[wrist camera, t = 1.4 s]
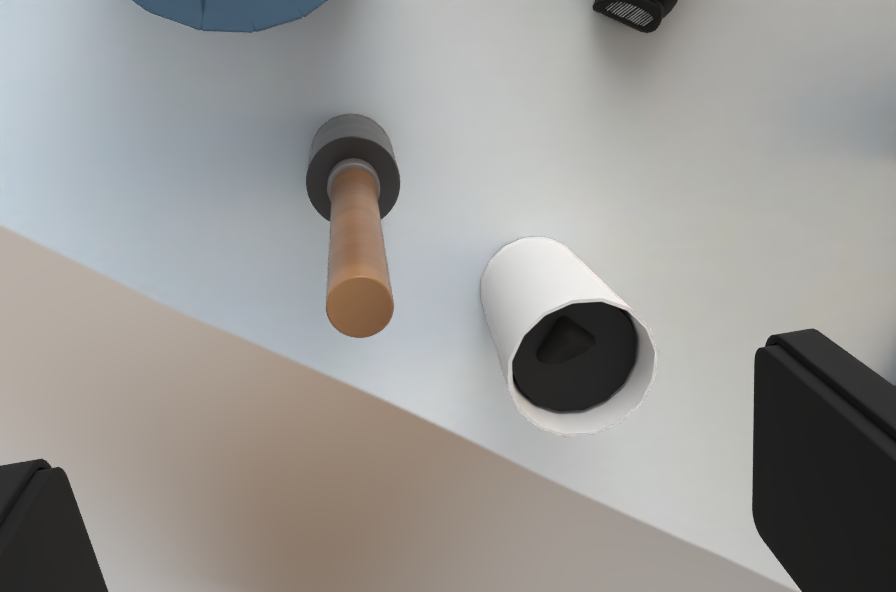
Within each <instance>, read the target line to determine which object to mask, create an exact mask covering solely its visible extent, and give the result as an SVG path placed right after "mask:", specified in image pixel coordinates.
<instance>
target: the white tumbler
mask: <svg viewBox="0 0 896 592" xmlns="http://www.w3.org/2000/svg"><path fill="white" fill-rule="evenodd" d="M481 302H482V305H483V308H484V311H485V315H486V318H487V321H488V324H489V328H490V331H491V334H492V338H493V341H494V344H495V347H496V351H497V354H498V357H499V361H500V364H501V367H502V370H503V374H504V377H505V380H506V384H507V387H508V389H509V392H510V394H511V396H512V398H513V401H514V403H515V405H516V407H517V409H518V412H519V413H520V414H522V415H523V416H524V417H525V418H526V419H527V420H529V421H530V422H531V423H532V424H533V425H535V426H536V427H537V428H538V429H540V430H544V431H547V432H550V433H554V434H557V435H560V436H564V437H571V436H585V435H594V434H597V433H599V432H601V431H604V430H606V429H608V428H611V427H613V426H615V425H618V424H620V423H621V422H623V421H624V420H625V419H626V418H627V417H628V416H629V415H630V414H631V413H632V412H634V411H635V410H636V409H637V408H638V407H639V406H640V405H641V404H642V403H643V401H644V400H645V398H646V396H647V394H648V392H649V390H650V388H651V386H652V384H653V383H654V381H655V379H656V370H657V359H658V349H657V347H656V344H655V341H654V338H653V335H652V332H651V330H650V327H649V326H648V325H647V324H646V323H645V322H644V321H643V320H642V319H641V318H640V317H639V316H638V315H637V314H636V313H635V312H634V311H633V310H632V309H631V308H630V307H629V306H628V305H627V304H626V303H625V302H624V301H623V300H622V299H620V298H619V297H618V296H617V295H616V294H615V293H614V292H613V291H612V290H611V289H610V288H609V287H608V286H607V285H606V284H605V283H604V282H603V281H602V280H601V279H600V278H599V277H598V276H597V275H595V274H594V273H593V272H592V271H591V270H590V269H589V268H588V267H587V266H586V265H585V264H584V263H583V262H582V261H581V260H580V259H579V258H578V257H577V256H576V255H575V254H574V253H573V252H572V251H571V250H570V249H569V248H568V247H566V246H565V245H564V244H563V243H561V242H558V241H555V240H553V239H550V238H547V237H524V238H521V239H519V240H517V241H515V242H512V243H510V244H508V245H505V246H504V247H503V248H502V249H501V250H500V251H499V252H498V253H497V254H496V255H495V256H494V257H493V258H492V259H491V260H490V261H489V262H488V265H487V267H486V269H485V271H484V274H483V276H482V278H481Z"/></svg>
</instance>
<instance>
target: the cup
mask: <svg viewBox="0 0 896 592" xmlns="http://www.w3.org/2000/svg"><path fill="white" fill-rule="evenodd" d="M133 1H134V2H135V3H137V4H138V5H139V6H141V7H142V8H143V9H145V10H146V11H149V12H150V13H153V14H155V15H158V16H161V17H164V18H167V19H169V20H172V21H175V22H178V23H181V24H183V25H186V26H189V27H192V28H194V29H197V30H203V31H221V32H249V33H252V32H254V31H256V32H258V31H261V30H265V29H268V28H271V27H275V26H278V25H281V24H285V23H288V22H291V21H294V20H298V19H301V18H302V17H305V16H307V15H308V14H309V13H311V12H312V11H314V10H315V9H316V8H318V7H319V6H320V5H322V4H323V3H325V2H326V1H327V0H133Z"/></svg>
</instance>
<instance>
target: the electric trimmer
mask: <svg viewBox="0 0 896 592" xmlns="http://www.w3.org/2000/svg"><path fill="white" fill-rule="evenodd" d="M676 3H677V0H595V2H594V5H593V10H594V11H596V12H598V13H599V14H602V15H603V16H604V15H605V16H606V17H609V18H611V19H613V20H614V21H615V20H616V21H618V22H619V23H622V24H623V25H624V24H625V25H626V26H627V27H628V26H629V27H630V28H633V29H635V30H638V31H640V32H645V33H649V32H653V31H655V30H656V29H657V28H658V26H659V25H660V23H661V21H662V19H663V18H664V17H665V16H666V15H667V14H668V13H669V12H670V11H671V10H672V9H673V7H674V6H675V4H676Z"/></svg>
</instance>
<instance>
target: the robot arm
mask: <svg viewBox="0 0 896 592" xmlns="http://www.w3.org/2000/svg"><path fill="white" fill-rule="evenodd" d="M752 511H753V518H754V522H755V525H756V528H757V531H758V533H759V535H760V536H761V538H762V539H763V541H764V542H765V543H766V545H767V546H768V547H769V549H770V550H771V551H772V553H773V554H774V555H775V557H776V558H777V559H778V561H779V562H780V563H781V565H782V566H783V567H784V569H785V570H786V571H787V573H788V574H789V575H790V576H791V578H792V579H793V580H794V582H795V583H796V584H797V586H798V587H799V588H800V590H801V591H802V592H896V387H895V386H893V385H892V384H891V383H889V382H888V381H887V380H885V379H884V378H882V377H881V376H880V375H878V374H877V373H876V372H874V371H873V370H871V369H870V368H869V367H867V366H866V365H865V364H863V363H862V362H860V361H859V360H858V359H856V358H855V357H853V356H852V355H851V354H849V353H848V352H847V351H845V350H844V349H842V348H841V347H840V346H838V345H837V344H836V343H834V342H833V341H831V340H830V339H829V338H827V337H826V336H825V335H823V334H822V333H820V332H819V331H817V330H815V329H806V330H800V331H794V332H788V333H782V334H777V335H771V336H770V337H769V338H768V340H767V342H766V345H765V347H762V348H759V349H758V350H757V351H756V354H755V364H754V430H753V496H752ZM0 592H108V589H107V587H106V584H105V581H104V578H103V575H102V573H101V570H100V567H99V564H98V561H97V558H96V556H95V553H94V550H93V547H92V544H91V542H90V539H89V536H88V533H87V531H86V528H85V525H84V522H83V519H82V516H81V514H80V511H79V508H78V505H77V502H76V500H75V497H74V494H73V491H72V488H71V486H70V483H69V480H68V478H67V475H66V473H65V472H64V470H63V469H62V468H60V467H56V468H51V466H50V465H49V463H47V461H45V460H43V459H37V460H32V461H26V462H20V463H14V464H8V465H2V466H0Z"/></svg>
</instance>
